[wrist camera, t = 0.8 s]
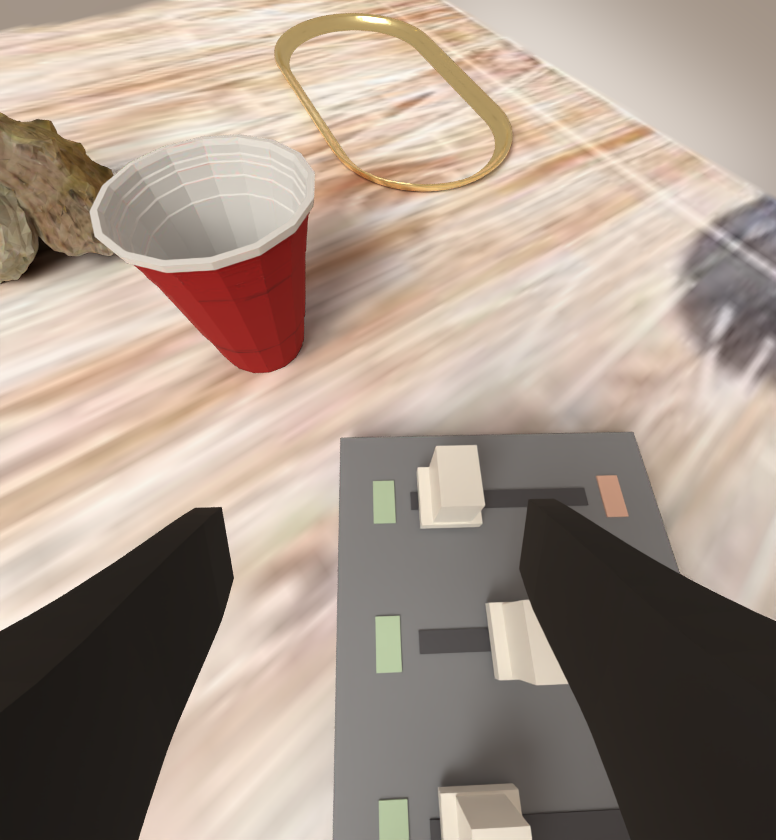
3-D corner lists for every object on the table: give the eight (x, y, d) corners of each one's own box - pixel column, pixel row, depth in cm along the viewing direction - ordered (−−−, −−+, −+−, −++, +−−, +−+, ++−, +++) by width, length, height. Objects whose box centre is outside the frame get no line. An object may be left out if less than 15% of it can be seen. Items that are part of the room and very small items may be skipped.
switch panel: (762, 923, 18) (807, 957, 16) (334, 951, 17) (329, 990, 15) (616, 444, 28) (634, 431, 26) (342, 450, 27) (340, 437, 25)
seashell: (-32, 244, 36) (-184, 123, 27) (129, 176, 39) (39, 44, 29) (-9, 335, 32) (-178, 231, 23) (168, 254, 35) (79, 130, 25)
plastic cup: (287, 264, 34) (247, 97, 24) (366, 351, 30) (360, 200, 20) (161, 326, 31) (48, 166, 20) (231, 432, 27) (138, 304, 17)
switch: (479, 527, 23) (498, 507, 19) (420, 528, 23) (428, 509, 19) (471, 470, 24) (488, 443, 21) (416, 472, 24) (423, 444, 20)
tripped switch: (562, 675, 20) (603, 685, 16) (494, 678, 19) (521, 689, 16) (548, 601, 21) (583, 595, 17) (485, 603, 21) (507, 597, 17)
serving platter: (395, 19, 55) (395, 3, 54) (544, 173, 41) (550, 156, 40) (257, 43, 52) (253, 27, 50) (369, 222, 37) (369, 206, 36)
